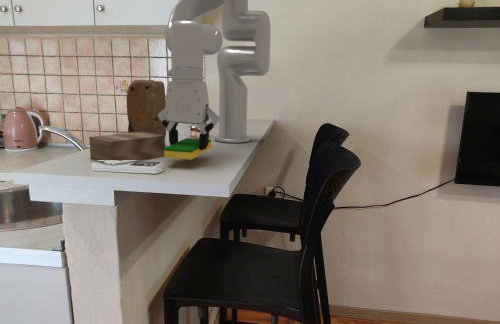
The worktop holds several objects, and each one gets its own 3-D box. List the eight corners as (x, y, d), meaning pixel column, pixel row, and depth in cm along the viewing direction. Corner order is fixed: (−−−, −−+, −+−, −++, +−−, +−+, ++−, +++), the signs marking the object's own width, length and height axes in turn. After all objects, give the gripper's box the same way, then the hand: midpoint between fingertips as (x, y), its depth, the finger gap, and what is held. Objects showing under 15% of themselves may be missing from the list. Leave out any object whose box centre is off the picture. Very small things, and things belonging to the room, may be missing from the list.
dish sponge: (163, 157, 91) (163, 147, 90) (186, 146, 104) (186, 137, 103) (191, 160, 89) (191, 150, 89) (211, 148, 102) (211, 139, 102)
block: (168, 146, 118) (167, 80, 114) (155, 150, 111) (154, 80, 107) (138, 143, 121) (136, 79, 117) (124, 147, 114) (121, 79, 110)
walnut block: (143, 152, 110) (143, 131, 109) (165, 157, 104) (165, 135, 103) (90, 159, 98) (89, 136, 97) (111, 166, 92) (110, 141, 91)
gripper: (147, 74, 91) (150, 147, 95) (215, 77, 86) (215, 153, 90) (163, 74, 98) (165, 142, 102) (226, 76, 93) (226, 147, 97)
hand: (188, 147), depth 96 cm, fingers closed on dish sponge, 7 cm apart
